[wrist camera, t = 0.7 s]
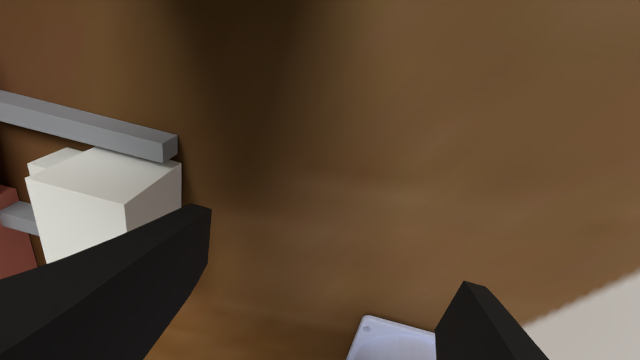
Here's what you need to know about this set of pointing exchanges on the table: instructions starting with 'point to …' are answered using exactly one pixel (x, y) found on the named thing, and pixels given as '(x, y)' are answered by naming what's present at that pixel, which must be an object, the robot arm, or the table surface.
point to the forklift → (3, 203)
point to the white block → (97, 196)
